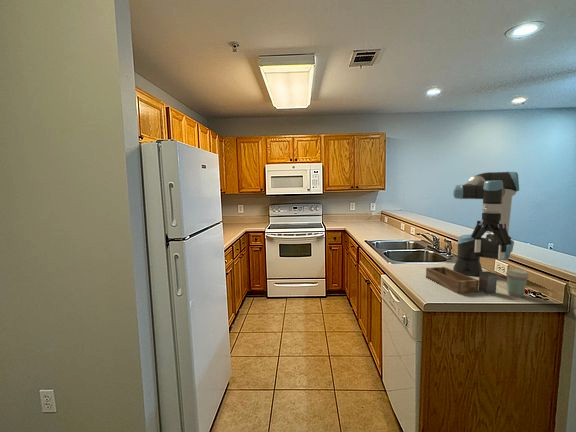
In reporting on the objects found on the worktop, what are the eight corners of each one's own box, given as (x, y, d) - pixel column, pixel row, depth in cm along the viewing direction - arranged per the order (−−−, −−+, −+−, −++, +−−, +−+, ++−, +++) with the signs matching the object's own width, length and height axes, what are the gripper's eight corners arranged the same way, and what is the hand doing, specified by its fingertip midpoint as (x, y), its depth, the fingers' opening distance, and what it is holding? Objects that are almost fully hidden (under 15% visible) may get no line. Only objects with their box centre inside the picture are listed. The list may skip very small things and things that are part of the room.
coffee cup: (527, 300, 130) (529, 274, 129) (503, 295, 136) (505, 271, 134) (527, 294, 137) (529, 270, 135) (505, 290, 142) (506, 267, 141)
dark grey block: (487, 289, 143) (488, 271, 142) (495, 293, 138) (497, 274, 137) (478, 290, 142) (479, 271, 141) (486, 294, 137) (488, 274, 136)
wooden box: (443, 276, 164) (443, 266, 164) (478, 292, 140) (478, 280, 140) (425, 278, 162) (426, 267, 162) (457, 293, 139) (458, 281, 138)
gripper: (464, 210, 148) (462, 250, 150) (508, 215, 123) (505, 262, 126) (477, 210, 149) (474, 249, 151) (523, 214, 125) (519, 261, 127)
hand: (488, 255), depth 138 cm, fingers open, 13 cm apart
